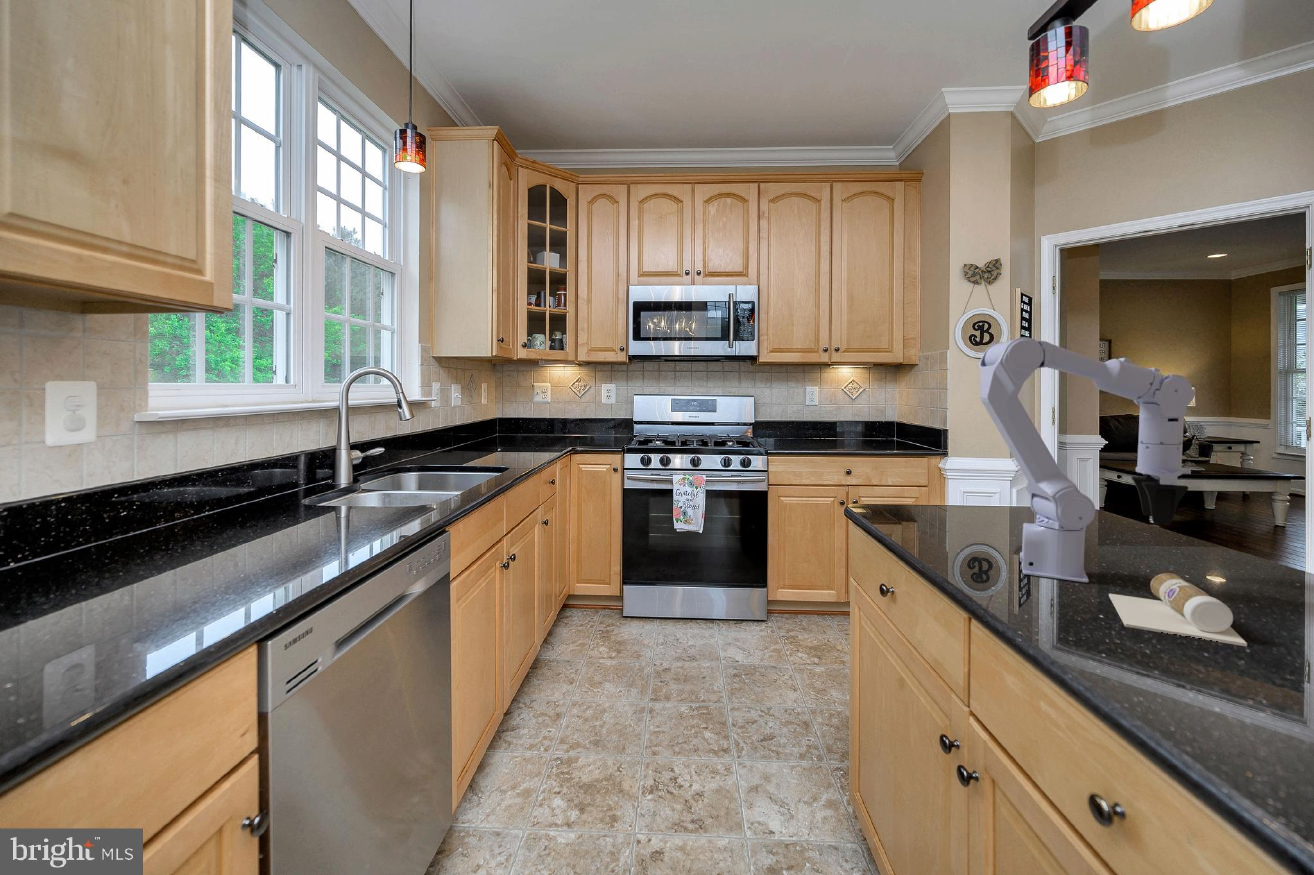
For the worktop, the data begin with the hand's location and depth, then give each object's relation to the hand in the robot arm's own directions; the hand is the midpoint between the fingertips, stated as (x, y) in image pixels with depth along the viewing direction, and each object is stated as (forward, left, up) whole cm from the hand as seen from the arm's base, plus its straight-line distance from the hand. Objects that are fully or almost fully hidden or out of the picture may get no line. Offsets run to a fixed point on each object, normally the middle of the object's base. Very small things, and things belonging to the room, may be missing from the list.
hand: (1156, 519), depth 96 cm
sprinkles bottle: (-1, -14, -8) cm, 16 cm away
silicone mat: (-2, -23, -10) cm, 25 cm away
